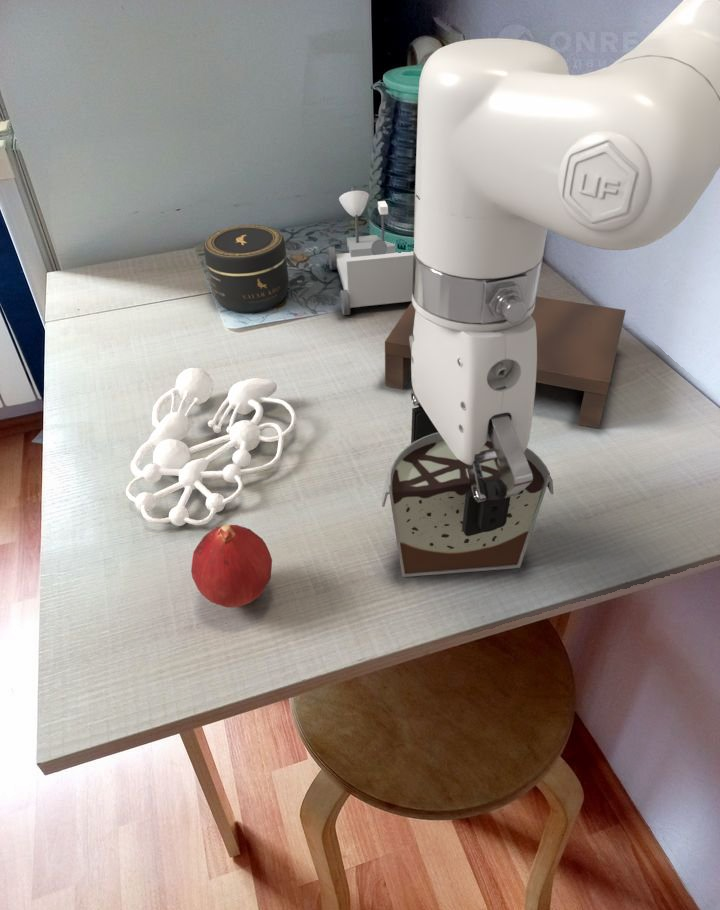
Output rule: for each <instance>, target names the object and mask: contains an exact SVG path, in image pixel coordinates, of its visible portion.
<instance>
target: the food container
mask: <svg viewBox="0 0 720 910" xmlns="http://www.w3.org/2000/svg"><path fill="white" fill-rule="evenodd" d="M493 448H494V447H493V445H492V442H491V440H490V438H488V439H487V441H486V443H485V445H484V447H483V448H482V450H481V451H484V450H489V449H493ZM524 454H525V457H526V459H527V461H528V464H529V466H530V469H531V471H532V474H533V481H532V482H531V483H530V484H529V485H528V486H527V487H526V488H525V489H524V491H523V493H522V494H518V495H515V496H511V497H510V503H509V509H508V514H507V520H506V524H505V525H504V526H503V527H501V528H497V529H495V530H493V531H489V532H483V533H479V534H475V535H472V536H466V535H465V534H464V532H463V530H462V524H463V515H464V506H465V497H466V492H468V491H469V490H472V489H471V484H470V480H469V475H468V470H467V466H466V464H465V463H463V462H462V461H460V460H459V459H458V458H457V457H456V456H455V455H454V454H453V452H452V451H451V450H450V448H449V447H448V445H447V444H446V442H445V441H444V439H443V438H442V436H441V435H440V433H439V432H437V433H433V434H431V435H428V436H425V437H423V438H421V439H419V440H417V441H415V442H413V443H412V444H411V443H410V444H409V445H408V446H406V447H405V448H404V449H403V450H401V452H400V453H399V454H398V455H397V456H396V458H395V460H394V461H393V463H392V464H391V466H390V468H389V470H388V473H387V474H386V479H385V483H384V486H383V491H382V495H381V496H382V497H381V507H382V508H385V506H386V503H387V498H388V495H389V499H390V505H391V506H390V507H391V513H392V518H393V525H394V532H395V538H396V545H397V552H398V558H399V565H400V571H401V577H402V578H407V577H420V576H422V577H423V576H433V575H434V576H435V575H445V574H446V575H449V574H459V573H461V574H462V573H473V572H474V573H475V572H484V571H497V570H498V571H499V570H511V569H520V568H521V566H522V563H523V560H524V557H525V553H526V552H527V548H528V546H529V541H530V539H531V536H532V533H533V531H534V527H535V523H536V521H537V518H538V516H539V513H540V512H539V511H540V508H541V506H542V503H543V500H544V497H545V495H546V491H547V489H548V491H549V493H550V495H554V483H553V481H554V480H553V478H552V476H551V472H550V470H549V469H548V467H547V465H546V464H545V463H544V461H543V460H542V458H540V456H538V455H537V454H536V453H535V452H534V451H533V450H532V449H530V448H529V447H527V448H526V450H525V452H524ZM480 465H481V469H482V474H483V478H484V482H485V481H489V480H493V479H497V478H500V473H499V468H498V463H497V459H496V458H495V459H491V460H487V461H483V462H480Z"/></svg>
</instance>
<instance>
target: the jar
mask: <svg viewBox="0 0 720 910" xmlns="http://www.w3.org/2000/svg"><path fill="white" fill-rule="evenodd" d="M203 253H204V263H205V265H206V268H207V273H208V278H209V284H210V288H211V291H212V294H213V296H214V298H215V300H216V302H217V303H218V304H219V305H220V306H222V307H223V308H224V309H226V310H227V311H230V312H233V313H242V314H245V313H246V314H247V313H248V314H251V313H259V312H264V311H267V310H270V309H272V308H274V307H276V306H277V305H279V304H280V303H281V302H283V300H284V298H285V297H286V296H287V293H288V287H289V271H288V262H287V249H286V242H285V238H284V236H283V234H282V232H280V231H279V230H278V229H275V228H273V227H271V226H267V225H262V224H261V225H260V224H242V225H241V224H240V225H234V226H230V227H225V228H223V229H220V230H217V231H216V232H214V233H212V234H211V235H209V236H208V237H207V238H206V239H205V241H204V244H203Z"/></svg>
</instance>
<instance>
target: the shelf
mask: <svg viewBox="0 0 720 910" xmlns="http://www.w3.org/2000/svg"><path fill="white" fill-rule="evenodd" d="M415 311H416V309H415V308H414V306H413V304H412V301H410V304H409V305H408V307H407V308H406V309H405V311H404V313H403V314H402V315H401V317H400V318H399V320H398V322H397V323H396V324H395V326H394V328H392V329H391V332H390V333H389V335H387V337H386V339H385V341H384V385H385V387H389V388H393V389H398V390H399V389H400V390H404V388H405V386H407V383H408V381H409V380H410V378H411V377H412V376H411V373H410V367H411V357H412V355H411V349H410V342H409V337H410V335H413V329H414V319H415ZM625 315H626V309H621V308H615V307H608V306H603V305H601V306H600V305H595V304H588V303H583V302H582V303H581V302H575V301H568V300H562V299H555V298H549V297H548V298H547V297H542V296H537V297H536V303H535V308H534V311H533V313H532V314H531V316H532V317H533V319H534V321H535V323H536V337H537V370H536V383H538V384H543V385H550V386H554V387H560V388H565V389H570V390H576V391H580V392H581V391H582V392H583V396H582V402H581V406H580V410H579V415H578V420H577V425H578V426H582V427H583V426H584V427H589V428H593V429H599V428H600V425H601V420H602V415H603V411H604V407H605V403H606V400H607V395H608V392H609V387H610V384H611V379H612V374H613V369H614V364H615V361H616V356H617V351H618V347H619V343H620V338H621V334H622V329H623V324H624V320H625Z"/></svg>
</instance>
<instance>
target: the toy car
mask: <svg viewBox="0 0 720 910" xmlns="http://www.w3.org/2000/svg"><path fill="white" fill-rule="evenodd" d="M350 190H351V191H346V192H344V193H342V194H341V195H340V196H339V198H338V201H339V203H340V204H341V206H342V207H343V209H344V211H346V213H347V214H349V216H350V217H353V218H354V226H355V227H354V228H355V229H354V231H355V236H352V237H351V236H350V237H346V246H347V249H348V252H344V253H337V250H336V247H335V246H328V248H327V254H328V263H329V264H328V265H329V269H330V270H331V271H336V270H337V272H338V275H339V278H340V282H341V285H342V289H340V291H339V298H340V299H339V300H340V307H341V309H340V310H341V313H342V316H349V315H351V309H352V308H361V307H368V306H369V307H370V306H378V305H389V304H398V303H399V304H400V303H406V302H407V303H409V302H412V279H413V251H411V252H401V253H398V252H395V248H396V244H395V243H394V244H393V243H390V242H387V241H385V234H386V232H385V215H389V205H388V204H387V202H386V200H379V201H377V211H378V213H379V215H380V216H381V218H380V219H381V221H380V223H381V234H382V239H381V238H380V237H378V236H377V235H378V234H371V235H370V234H369V235H362V236H361V235H359V217H360V216H361V215H362V214H363V213H364V211H365V208H366V207H367V204H368V201H369V197H370V196H369V192H367V191H364V190H355V186H351V187H350Z"/></svg>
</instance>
